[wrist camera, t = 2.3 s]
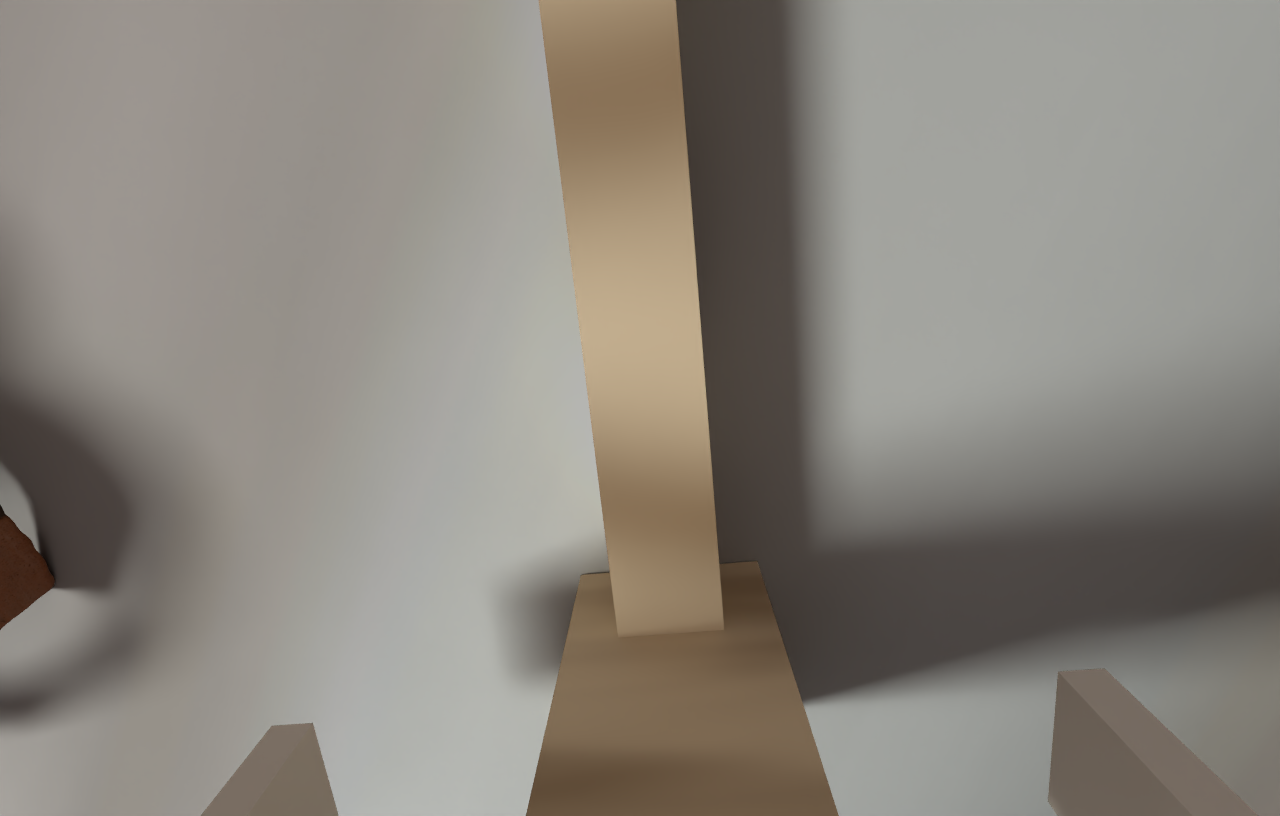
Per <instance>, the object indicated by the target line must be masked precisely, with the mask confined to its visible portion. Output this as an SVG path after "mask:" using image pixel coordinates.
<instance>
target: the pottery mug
mask: <svg viewBox="0 0 1280 816" xmlns="http://www.w3.org/2000/svg"><path fill="white" fill-rule="evenodd" d="M54 583H55V580H54V577H53V575H52V574H51V573H50V572H49V570H48V566H47V564H46V561H45V560H44V558H43V557H42V556H41V555H40V554H39V553H38V551H36V549H35V548H34V545H33V543H32V541H31V540H30V539H29V538H28V537H27V536H26V535H25V534H23V533H22V532H21V531H20V530H19V529H18V527H17V526H16V524H15V523H14V522H13V521H12V520H11V519H10V518H9V517H8V516H7V515H6V514H5V513H4V511H3V509H2V507H1V505H0V630H1V628H2V627H3V626H5V625H6V624H7V623H8V622H9V621H11V620H12V619H13V618H15V617H16V616H17V615H19V614H20V613H21V612H23V611H24V610H25V609H27V608H28V607H29V606H30V605H31V604H32V603H33V602H35V601H36V600H37V599H38V598H40V597H41V596H42V595H44V594H45V593H46V592H48V591H49V590H50V589H51V588H52V587H53V586H54Z"/></svg>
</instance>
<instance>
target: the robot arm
mask: <svg viewBox="0 0 1280 816" xmlns="http://www.w3.org/2000/svg"><path fill="white" fill-rule="evenodd" d="M1048 802H1049V804H1050V805H1051V807H1052V808H1053V809H1054V811H1055V812H1056V814H1057V815H1058V816H1258V815H1257V814H1256V813H1255V812H1254V811H1253V810H1252V809H1251V808H1250V807H1249V806H1248V805H1247V804H1246V803H1245V802H1244V801H1243V800H1242V799H1241V798H1240V797H1239V796H1237V795H1236V794H1235V793H1234V792H1233V791H1232V790H1231V789H1230V788H1229V787H1228V786H1227V785H1226V784H1225V783H1224V782H1223V781H1222V780H1221V779H1220V778H1219V777H1218V776H1217V775H1215V774H1214V773H1213V772H1212V771H1211V770H1210V769H1209V768H1208V767H1207V766H1206V765H1205V764H1204V763H1203V762H1202V761H1201V760H1200V759H1199V758H1198V757H1197V756H1196V755H1195V754H1194V753H1192V752H1191V751H1190V750H1189V749H1188V748H1187V747H1186V746H1185V745H1184V744H1183V743H1182V742H1181V741H1180V740H1179V739H1178V738H1177V737H1176V736H1175V735H1174V734H1173V733H1172V732H1170V731H1169V730H1168V729H1167V728H1166V727H1165V726H1164V725H1163V724H1162V723H1161V722H1160V721H1159V720H1158V719H1157V718H1156V717H1155V716H1154V715H1153V714H1152V713H1151V712H1150V711H1148V710H1147V709H1146V708H1145V707H1144V706H1143V705H1142V704H1141V703H1140V702H1139V701H1138V700H1137V699H1136V698H1135V697H1134V696H1133V695H1132V694H1131V693H1130V692H1129V691H1128V690H1126V689H1125V688H1124V687H1123V686H1122V685H1121V684H1120V683H1119V682H1118V681H1117V680H1116V679H1115V678H1114V677H1113V676H1112V675H1111V674H1110V673H1109V672H1108V671H1107V670H1106V669H1104V668H1102V669H1088V670H1073V671H1059V672H1058V679H1057V692H1056V705H1055V717H1054V730H1053V743H1052V755H1051V768H1050V781H1049V793H1048ZM201 816H338V812H337V808H336V805H335V801H334V798H333V794H332V791H331V787H330V783H329V780H328V776H327V773H326V769H325V765H324V762H323V758H322V755H321V751H320V747H319V744H318V740H317V737H316V733H315V729H314V726H313V723H305V724H291V725H276V726H271V727H270V729H269V730H268V731H267V733H266V734H265V735H264V736H263V738H262V739H261V740H260V741H259V743H258V744H257V745H256V746H255V748H254V749H253V750H252V752H251V753H250V754H249V755H248V757H247V758H246V759H245V760H244V762H243V763H242V764H241V765H240V767H239V768H238V769H237V771H236V772H235V773H234V774H233V776H232V777H231V778H230V779H229V781H228V782H227V783H226V784H225V786H224V787H223V788H222V790H221V791H220V792H219V793H218V795H217V796H216V797H215V798H214V800H213V801H212V802H211V803H210V805H209V806H208V807H207V809H206V810H205V811H204V812H203V814H202V815H201Z"/></svg>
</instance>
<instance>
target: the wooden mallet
mask: <svg viewBox="0 0 1280 816" xmlns="http://www.w3.org/2000/svg"><path fill="white" fill-rule="evenodd" d="M539 7H540V15H541V23H542V31H543V39H544V47H545V55H546V63H547V71H548V79H549V87H550V95H551V103H552V111H553V119H554V127H555V135H556V143H557V151H558V159H559V167H560V176H561V184H562V192H563V200H564V208H565V216H566V224H567V232H568V240H569V248H570V256H571V264H572V272H573V280H574V288H575V296H576V304H577V312H578V320H579V328H580V336H581V344H582V352H583V360H584V368H585V376H586V384H587V392H588V400H589V408H590V416H591V424H592V432H593V440H594V448H595V456H596V464H597V472H598V480H599V488H600V496H601V505H602V513H603V521H604V529H605V537H606V545H607V553H608V561H609V569H610V573H598V574H586V575H581V577H580V581H579V585H578V590H577V594H576V599H575V603H574V607H573V612H572V616H571V621H570V625H569V629H568V634H567V638H566V642H565V647H564V651H563V656H562V660H561V664H560V669H559V673H558V677H557V682H556V686H555V691H554V695H553V699H552V704H551V708H550V713H549V717H548V721H547V726H546V730H545V734H544V739H543V743H542V748H541V752H540V756H539V761H538V765H537V769H536V774H535V778H534V783H533V787H532V791H531V796H530V800H529V805H528V809H527V813H526V816H839V815H838V812H837V809H836V806H835V803H834V800H833V797H832V793H831V790H830V787H829V784H828V781H827V778H826V775H825V772H824V768H823V765H822V762H821V759H820V756H819V753H818V750H817V746H816V743H815V740H814V737H813V734H812V731H811V728H810V725H809V721H808V718H807V715H806V712H805V709H804V706H803V703H802V700H801V696H800V693H799V690H798V687H797V684H796V681H795V678H794V675H793V671H792V668H791V665H790V662H789V659H788V656H787V653H786V650H785V646H784V643H783V640H782V637H781V634H780V631H779V628H778V624H777V621H776V618H775V615H774V612H773V609H772V606H771V603H770V599H769V596H768V593H767V590H766V587H765V584H764V581H763V578H762V574H761V571H760V568H759V565H758V562H757V561H750V562H738V563H725V564H719V555H718V542H717V529H716V516H715V503H714V490H713V477H712V464H711V451H710V438H709V425H708V412H707V399H706V387H705V374H704V361H703V348H702V335H701V322H700V309H699V296H698V283H697V270H696V257H695V244H694V231H693V218H692V205H691V192H690V179H689V166H688V153H687V140H686V127H685V114H684V101H683V88H682V75H681V62H680V49H679V36H678V23H677V10H676V0H539Z"/></svg>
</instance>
